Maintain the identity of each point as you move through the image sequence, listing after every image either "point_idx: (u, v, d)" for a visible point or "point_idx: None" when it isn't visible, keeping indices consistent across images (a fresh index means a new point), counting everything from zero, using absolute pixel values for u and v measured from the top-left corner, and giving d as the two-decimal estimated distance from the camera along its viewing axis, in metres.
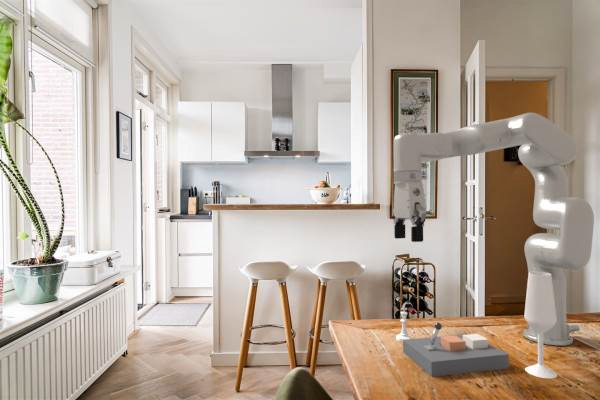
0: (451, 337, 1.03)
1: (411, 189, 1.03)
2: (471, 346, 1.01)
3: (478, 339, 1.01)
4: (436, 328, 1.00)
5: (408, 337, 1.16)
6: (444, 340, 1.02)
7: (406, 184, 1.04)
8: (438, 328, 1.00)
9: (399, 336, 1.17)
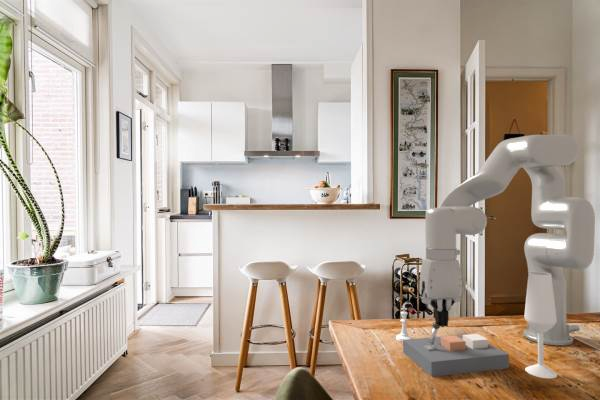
0: (451, 337, 1.03)
1: None
2: (471, 346, 1.01)
3: (478, 339, 1.01)
4: (434, 328, 1.00)
5: (408, 337, 1.16)
6: (444, 340, 1.02)
7: (457, 262, 1.00)
8: (436, 328, 1.00)
9: (399, 336, 1.17)
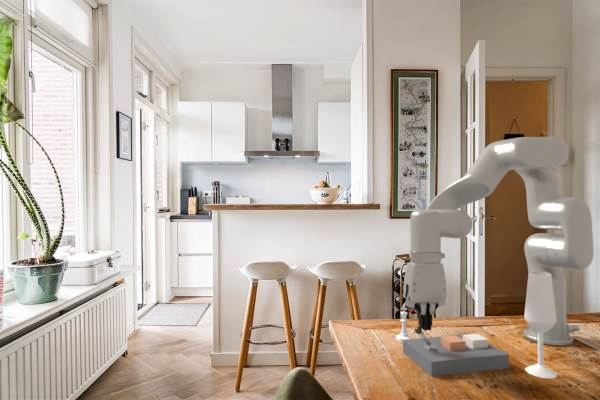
0: (451, 337, 1.03)
1: None
2: (471, 346, 1.01)
3: (478, 339, 1.01)
4: (419, 334, 1.00)
5: (408, 337, 1.16)
6: (444, 340, 1.02)
7: (441, 265, 0.99)
8: (420, 333, 0.99)
9: (399, 336, 1.17)
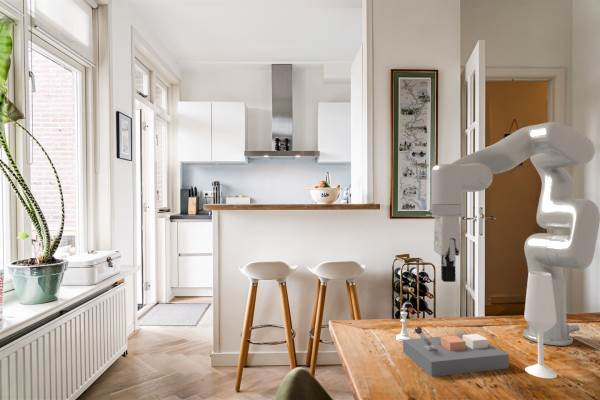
0: (451, 337, 1.03)
1: None
2: (471, 346, 1.01)
3: (478, 339, 1.01)
4: (419, 334, 1.00)
5: (408, 337, 1.16)
6: (444, 340, 1.02)
7: None
8: (420, 333, 0.99)
9: (399, 336, 1.17)
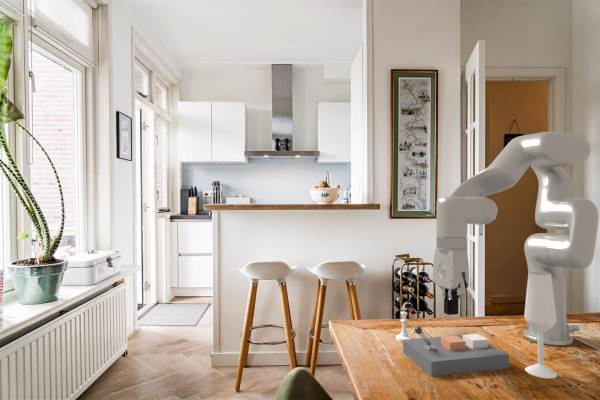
0: (451, 337, 1.03)
1: None
2: (471, 346, 1.01)
3: (478, 339, 1.01)
4: (419, 334, 1.00)
5: (408, 337, 1.16)
6: (444, 340, 1.02)
7: None
8: (420, 333, 0.99)
9: (399, 336, 1.17)
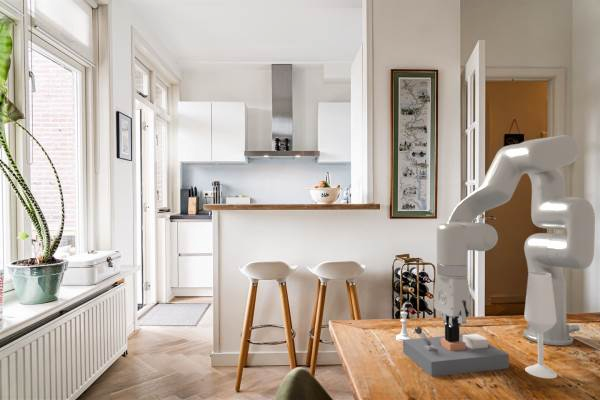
0: None
1: None
2: (471, 346, 1.01)
3: (478, 339, 1.01)
4: (419, 334, 1.00)
5: (408, 337, 1.16)
6: (444, 341, 1.02)
7: None
8: (420, 333, 0.99)
9: (399, 336, 1.17)
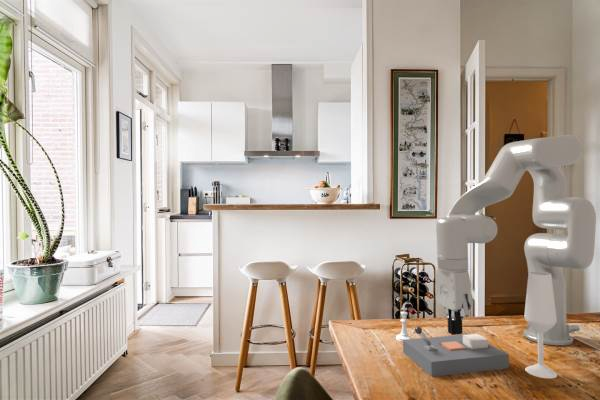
0: (451, 343, 1.03)
1: None
2: (471, 346, 1.01)
3: (478, 339, 1.01)
4: (419, 334, 1.00)
5: (408, 337, 1.16)
6: (444, 346, 1.02)
7: None
8: (420, 333, 0.99)
9: (399, 336, 1.17)
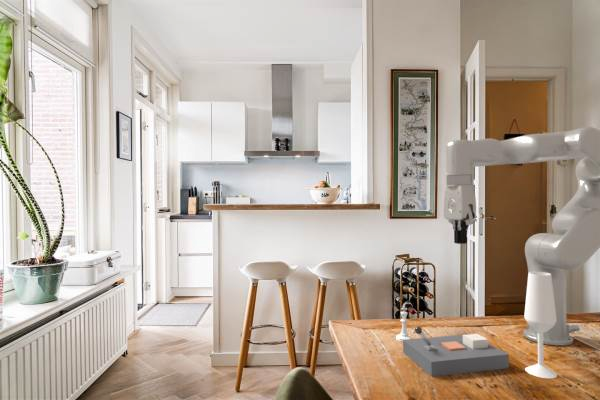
0: (451, 343, 1.03)
1: None
2: (471, 346, 1.01)
3: (478, 339, 1.01)
4: (419, 334, 1.00)
5: (408, 337, 1.16)
6: (444, 346, 1.02)
7: None
8: (420, 333, 0.99)
9: (399, 336, 1.17)
